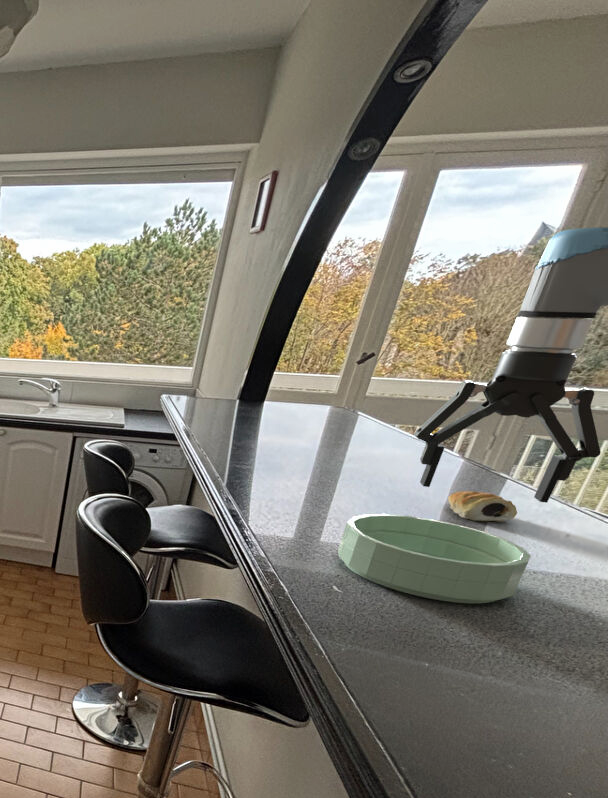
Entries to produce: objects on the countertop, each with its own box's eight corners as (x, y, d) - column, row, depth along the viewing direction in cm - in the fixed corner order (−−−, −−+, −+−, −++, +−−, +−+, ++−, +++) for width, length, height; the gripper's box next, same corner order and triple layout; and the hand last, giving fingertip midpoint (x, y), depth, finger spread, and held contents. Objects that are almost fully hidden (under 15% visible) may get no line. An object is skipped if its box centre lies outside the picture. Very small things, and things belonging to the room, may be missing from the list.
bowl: (488, 566, 75) (504, 529, 73) (533, 621, 62) (554, 578, 60) (331, 540, 82) (342, 506, 81) (342, 583, 70) (354, 545, 68)
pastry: (432, 502, 99) (440, 480, 97) (481, 506, 97) (490, 484, 96) (465, 520, 90) (475, 497, 89) (519, 525, 89) (530, 501, 87)
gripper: (656, 353, 81) (583, 500, 89) (423, 343, 93) (377, 473, 101) (686, 358, 75) (605, 514, 83) (433, 346, 87) (383, 484, 95)
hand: (480, 492), depth 92 cm, fingers open, 13 cm apart
